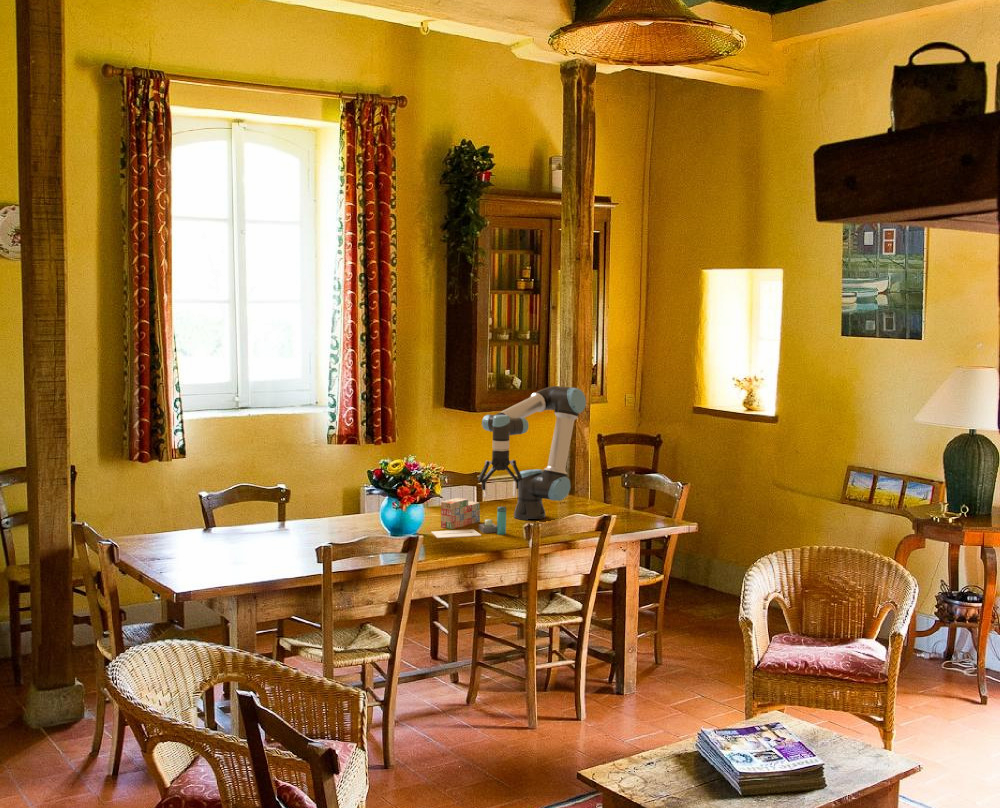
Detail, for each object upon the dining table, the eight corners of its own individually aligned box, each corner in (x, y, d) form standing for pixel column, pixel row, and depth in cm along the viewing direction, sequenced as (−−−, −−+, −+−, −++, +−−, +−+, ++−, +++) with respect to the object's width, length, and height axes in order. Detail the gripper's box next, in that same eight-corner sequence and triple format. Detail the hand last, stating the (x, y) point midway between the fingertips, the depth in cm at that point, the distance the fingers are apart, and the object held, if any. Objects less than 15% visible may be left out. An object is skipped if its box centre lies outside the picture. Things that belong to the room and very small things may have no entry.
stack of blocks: (469, 520, 527) (469, 494, 525) (479, 522, 523) (480, 496, 522) (440, 527, 510) (440, 501, 508) (451, 529, 506) (451, 503, 505)
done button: (490, 526, 506) (491, 519, 505) (493, 528, 502) (493, 520, 502) (483, 527, 505) (483, 519, 504) (485, 528, 501) (486, 521, 501)
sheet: (473, 530, 505) (473, 529, 505) (481, 535, 493) (481, 534, 493) (431, 532, 499) (431, 531, 499) (437, 538, 487) (437, 537, 487)
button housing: (493, 528, 508) (493, 523, 508) (498, 532, 501) (498, 526, 501) (478, 529, 506) (478, 524, 506) (483, 532, 499) (483, 527, 499)
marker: (504, 532, 501) (504, 506, 499) (507, 534, 497) (507, 508, 496) (495, 533, 500) (496, 506, 498) (498, 535, 496) (498, 508, 494)
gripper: (524, 447, 502) (523, 493, 504) (471, 449, 494) (470, 496, 497) (530, 450, 494) (529, 497, 497) (476, 451, 487) (475, 499, 489)
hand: (499, 496), depth 497 cm, fingers open, 13 cm apart
